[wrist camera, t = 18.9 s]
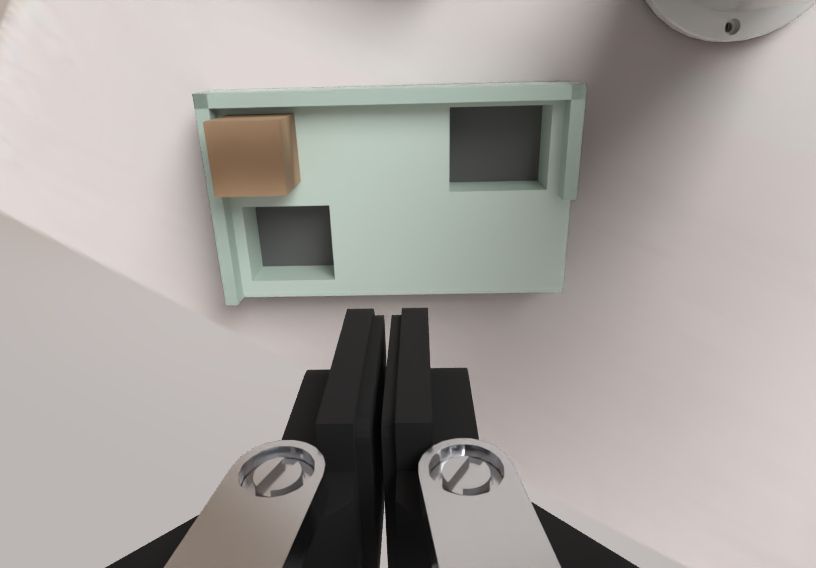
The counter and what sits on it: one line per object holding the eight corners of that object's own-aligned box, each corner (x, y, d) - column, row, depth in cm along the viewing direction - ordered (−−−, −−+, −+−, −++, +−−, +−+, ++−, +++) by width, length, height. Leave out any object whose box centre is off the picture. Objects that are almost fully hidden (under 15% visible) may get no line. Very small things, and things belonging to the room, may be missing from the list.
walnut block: (226, 114, 33) (202, 122, 29) (294, 113, 33) (278, 120, 29) (236, 182, 35) (214, 197, 31) (300, 180, 34) (286, 195, 31)
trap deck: (217, 89, 35) (192, 94, 31) (567, 81, 35) (586, 84, 31) (244, 280, 40) (225, 305, 36) (552, 275, 40) (567, 299, 36)
